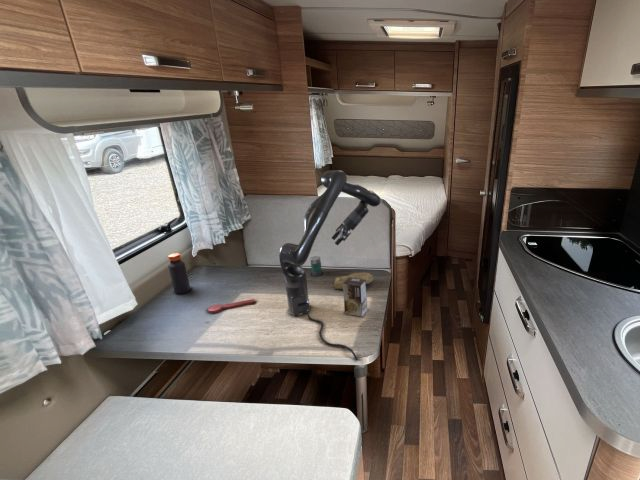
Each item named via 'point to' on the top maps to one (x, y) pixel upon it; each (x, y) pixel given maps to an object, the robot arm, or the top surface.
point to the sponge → (342, 279)
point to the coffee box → (355, 296)
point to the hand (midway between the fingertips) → (334, 241)
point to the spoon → (228, 306)
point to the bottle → (178, 274)
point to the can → (316, 265)
